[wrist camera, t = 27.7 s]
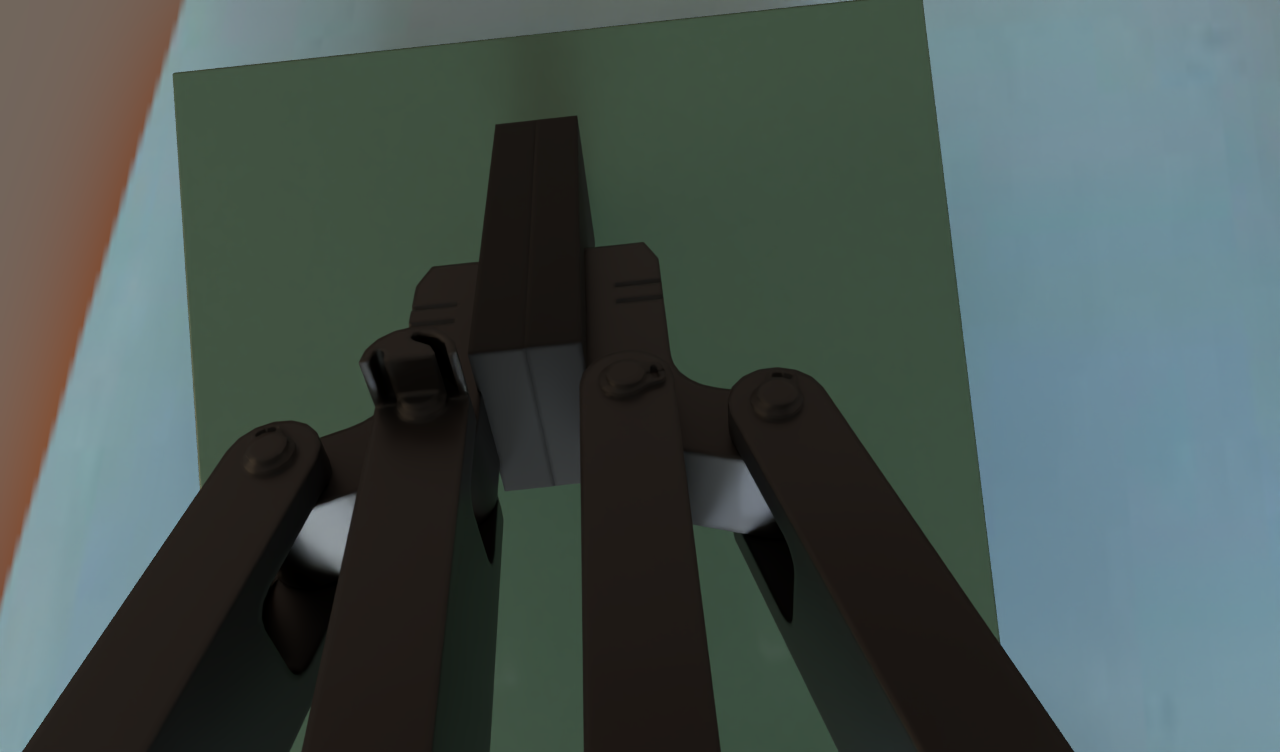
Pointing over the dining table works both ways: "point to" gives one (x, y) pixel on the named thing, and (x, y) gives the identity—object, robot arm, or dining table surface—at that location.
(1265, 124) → the dining table surface
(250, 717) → the robot arm
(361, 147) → the bin lid
